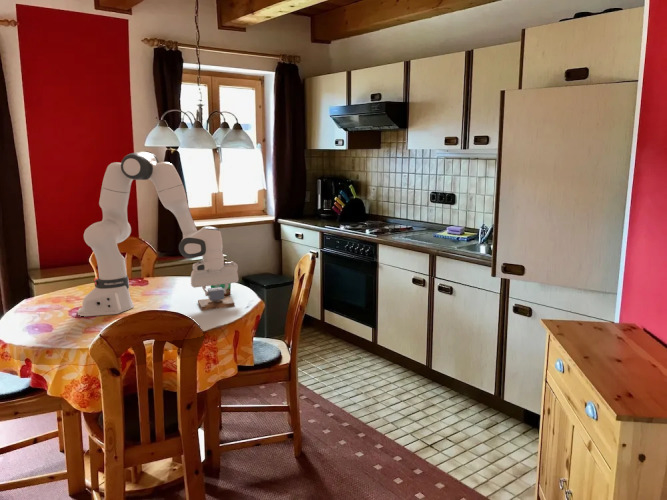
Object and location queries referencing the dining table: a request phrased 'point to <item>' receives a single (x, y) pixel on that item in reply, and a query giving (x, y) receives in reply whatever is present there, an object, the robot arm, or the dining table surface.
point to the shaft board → (215, 303)
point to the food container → (223, 288)
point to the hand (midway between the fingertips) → (215, 294)
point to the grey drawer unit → (216, 293)
